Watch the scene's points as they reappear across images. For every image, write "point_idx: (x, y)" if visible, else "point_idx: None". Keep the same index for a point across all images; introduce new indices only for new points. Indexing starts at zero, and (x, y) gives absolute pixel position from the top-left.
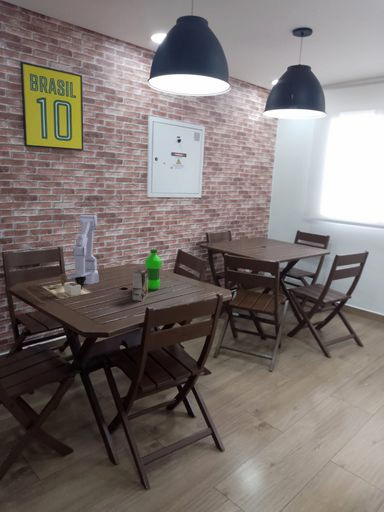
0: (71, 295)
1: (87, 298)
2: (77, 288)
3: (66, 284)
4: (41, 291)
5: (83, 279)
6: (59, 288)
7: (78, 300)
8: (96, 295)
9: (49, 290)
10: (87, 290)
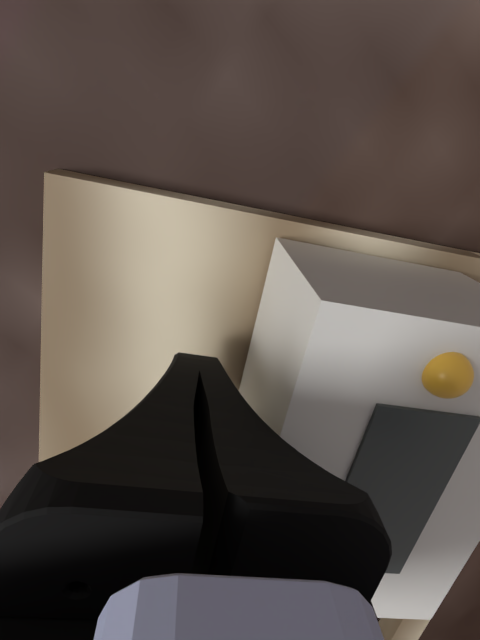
0: (453, 272)
1: (273, 16)
2: (393, 293)
3: (467, 550)
4: (437, 627)
5: (153, 478)
6: None
7: (462, 55)
8: (11, 35)
9: None
10: (55, 331)
